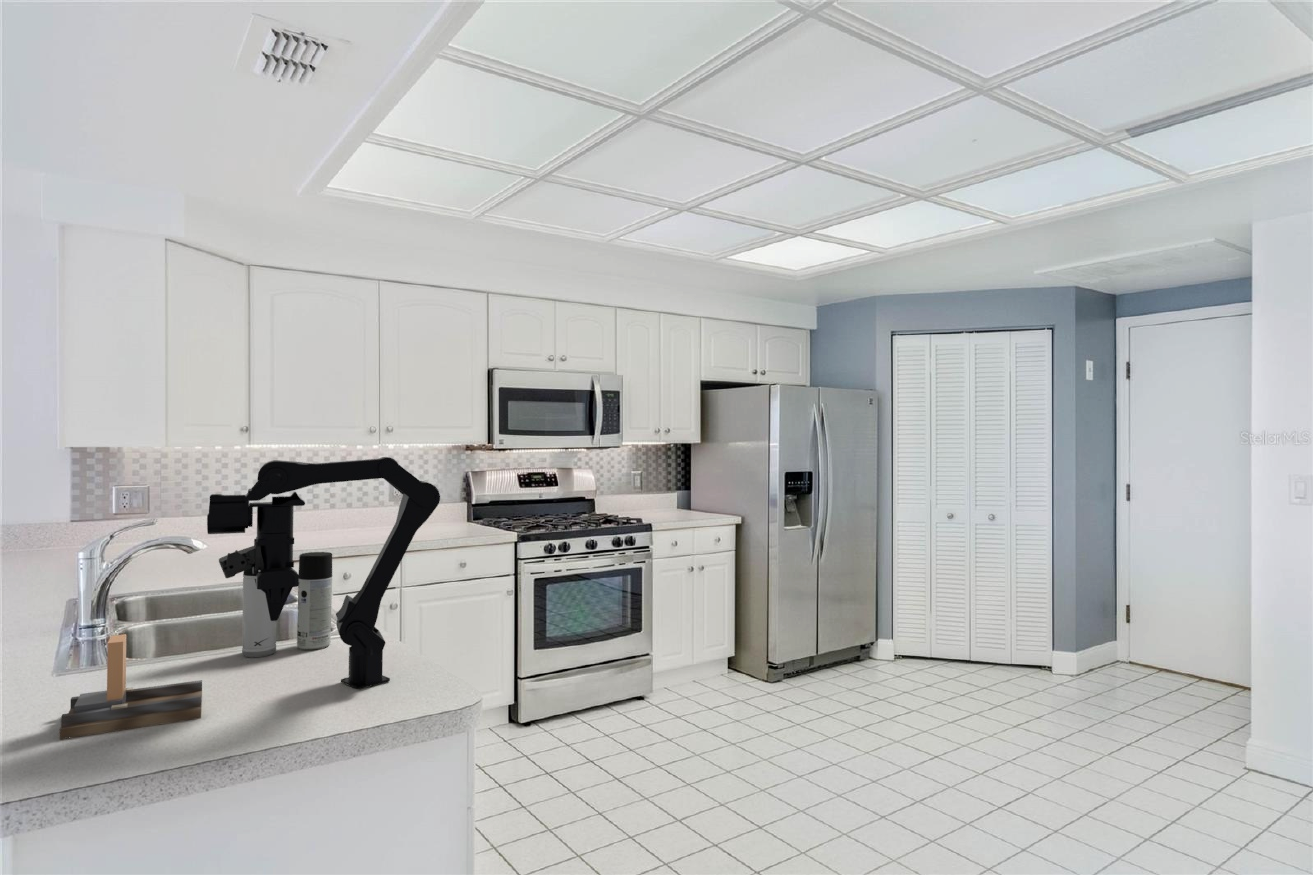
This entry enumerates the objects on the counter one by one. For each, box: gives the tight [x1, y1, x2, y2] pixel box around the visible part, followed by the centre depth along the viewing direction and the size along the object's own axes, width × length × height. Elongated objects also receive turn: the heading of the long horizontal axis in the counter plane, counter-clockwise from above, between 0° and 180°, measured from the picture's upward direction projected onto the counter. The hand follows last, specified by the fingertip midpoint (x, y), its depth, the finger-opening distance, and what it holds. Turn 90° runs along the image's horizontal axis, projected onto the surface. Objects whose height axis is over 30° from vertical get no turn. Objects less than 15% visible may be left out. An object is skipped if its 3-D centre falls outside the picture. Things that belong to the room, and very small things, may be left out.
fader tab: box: [74, 633, 127, 712], centre depth 119 cm, size 6×6×11 cm
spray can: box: [296, 551, 333, 651], centre depth 162 cm, size 7×7×20 cm
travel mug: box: [241, 568, 277, 659], centre depth 157 cm, size 6×7×20 cm
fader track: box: [59, 679, 203, 740], centre depth 122 cm, size 18×12×3 cm, turn 120°
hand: (273, 620), depth 132 cm, fingers closed
